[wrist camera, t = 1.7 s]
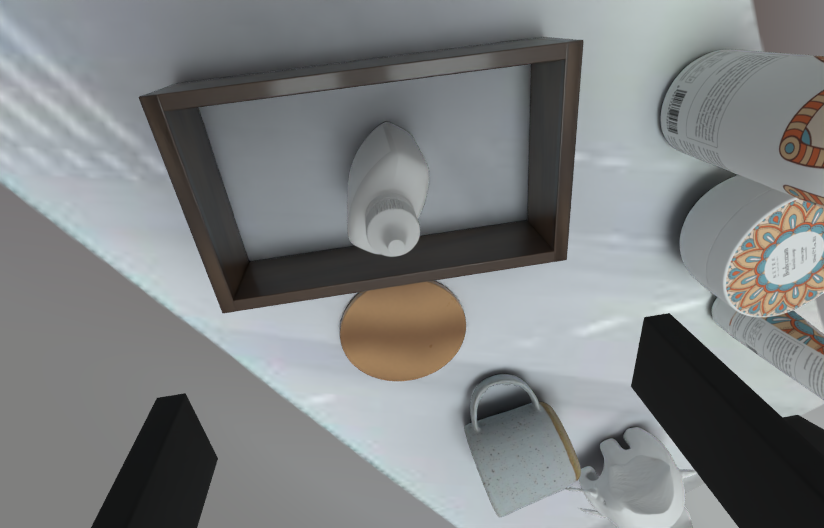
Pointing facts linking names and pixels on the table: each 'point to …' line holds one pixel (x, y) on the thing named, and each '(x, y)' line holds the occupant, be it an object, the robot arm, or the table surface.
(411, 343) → the coaster
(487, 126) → the table surface
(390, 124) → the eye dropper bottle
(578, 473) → the ceramic mug
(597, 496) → the elephant figurine
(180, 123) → the dark wooden open box
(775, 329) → the cosmetic set
